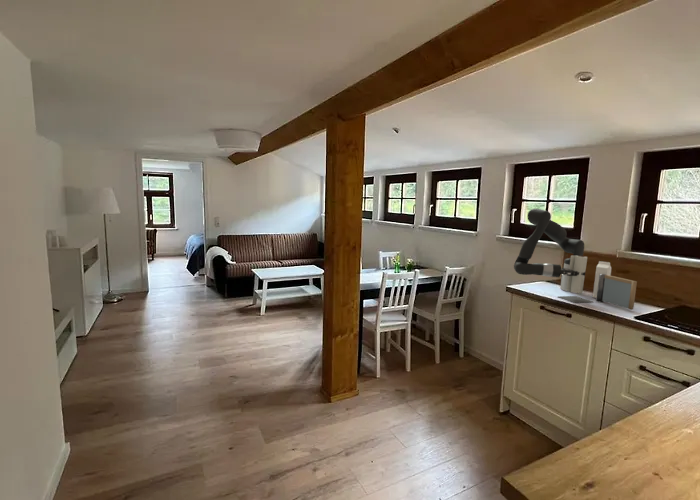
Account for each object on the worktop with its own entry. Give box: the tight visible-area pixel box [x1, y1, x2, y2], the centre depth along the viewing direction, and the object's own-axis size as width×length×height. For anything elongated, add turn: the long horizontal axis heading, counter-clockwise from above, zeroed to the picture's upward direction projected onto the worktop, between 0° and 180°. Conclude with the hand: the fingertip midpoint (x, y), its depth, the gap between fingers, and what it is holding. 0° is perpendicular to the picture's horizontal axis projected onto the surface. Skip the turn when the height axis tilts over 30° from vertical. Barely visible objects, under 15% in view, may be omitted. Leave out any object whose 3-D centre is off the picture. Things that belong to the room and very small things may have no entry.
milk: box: [592, 260, 612, 299], centre depth 224 cm, size 6×6×22 cm
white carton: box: [566, 255, 588, 294], centre depth 217 cm, size 7×6×21 cm
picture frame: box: [602, 275, 638, 310], centre depth 205 cm, size 18×2×15 cm, turn 13°
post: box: [595, 274, 606, 303], centre depth 216 cm, size 3×3×16 cm
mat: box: [557, 295, 594, 304], centre depth 219 cm, size 13×13×1 cm
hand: (583, 273), depth 216 cm, fingers closed on white carton, 3 cm apart
